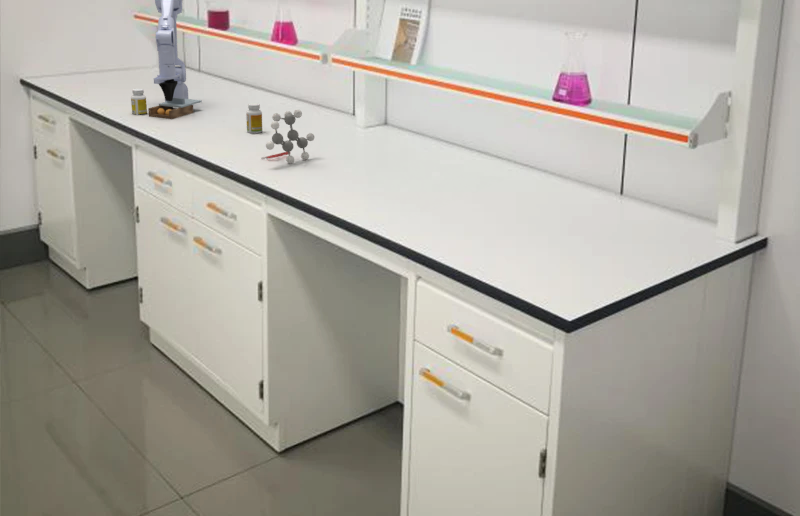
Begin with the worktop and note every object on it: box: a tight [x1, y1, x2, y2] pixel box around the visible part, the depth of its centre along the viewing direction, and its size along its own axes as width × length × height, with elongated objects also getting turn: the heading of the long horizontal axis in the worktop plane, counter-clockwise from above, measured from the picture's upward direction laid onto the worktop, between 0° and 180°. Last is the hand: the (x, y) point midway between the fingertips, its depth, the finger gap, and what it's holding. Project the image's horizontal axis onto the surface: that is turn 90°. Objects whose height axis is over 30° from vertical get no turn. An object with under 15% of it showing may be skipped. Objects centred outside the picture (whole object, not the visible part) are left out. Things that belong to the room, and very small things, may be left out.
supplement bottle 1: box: [130, 88, 148, 116], centre depth 333 cm, size 5×5×10 cm
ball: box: [157, 108, 165, 115], centre depth 332 cm, size 3×3×3 cm
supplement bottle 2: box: [245, 103, 263, 134], centre depth 313 cm, size 5×5×10 cm
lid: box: [158, 97, 202, 108], centre depth 339 cm, size 14×10×3 cm
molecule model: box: [260, 109, 315, 165], centre depth 276 cm, size 20×16×16 cm
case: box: [147, 104, 194, 120], centre depth 335 cm, size 14×10×4 cm
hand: (169, 100), depth 332 cm, fingers closed
